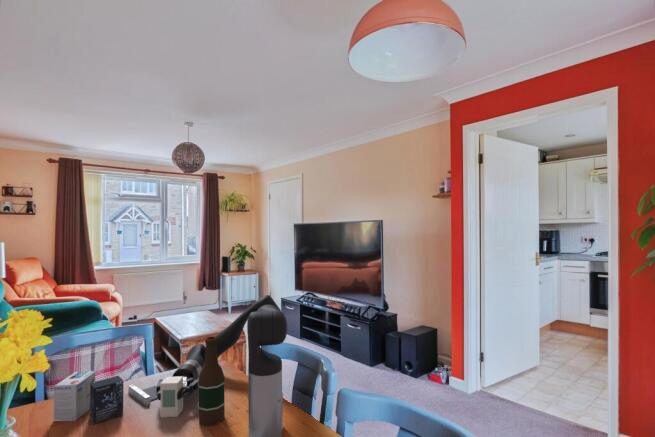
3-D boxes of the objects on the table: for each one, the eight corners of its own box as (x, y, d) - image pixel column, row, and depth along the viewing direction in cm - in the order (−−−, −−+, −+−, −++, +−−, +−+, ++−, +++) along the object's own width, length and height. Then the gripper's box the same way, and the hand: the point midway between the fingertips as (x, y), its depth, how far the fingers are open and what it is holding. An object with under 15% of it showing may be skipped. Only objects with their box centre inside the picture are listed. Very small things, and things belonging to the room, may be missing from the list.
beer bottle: (203, 412, 114) (203, 333, 114) (228, 412, 113) (228, 333, 114) (193, 426, 106) (193, 341, 106) (220, 426, 106) (220, 341, 106)
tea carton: (183, 408, 116) (183, 376, 117) (177, 416, 111) (177, 383, 111) (166, 408, 116) (166, 376, 116) (160, 417, 111) (160, 383, 111)
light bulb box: (74, 405, 119) (74, 371, 119) (95, 404, 120) (96, 370, 120) (52, 422, 109) (52, 385, 109) (76, 421, 109) (76, 384, 109)
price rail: (134, 391, 129) (134, 383, 129) (151, 403, 120) (151, 396, 120) (128, 393, 127) (128, 385, 128) (145, 405, 118) (145, 398, 118)
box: (93, 424, 107) (94, 387, 107) (89, 417, 111) (89, 382, 111) (123, 415, 112) (124, 380, 113) (118, 408, 117) (118, 374, 117)
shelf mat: (169, 382, 136) (169, 381, 136) (182, 390, 129) (182, 389, 129) (134, 393, 127) (134, 392, 127) (146, 402, 120) (146, 401, 120)
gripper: (166, 363, 128) (144, 384, 111) (208, 362, 129) (193, 383, 112) (166, 385, 128) (144, 410, 111) (208, 384, 128) (193, 408, 111)
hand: (168, 396), depth 111 cm, fingers closed on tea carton, 5 cm apart
